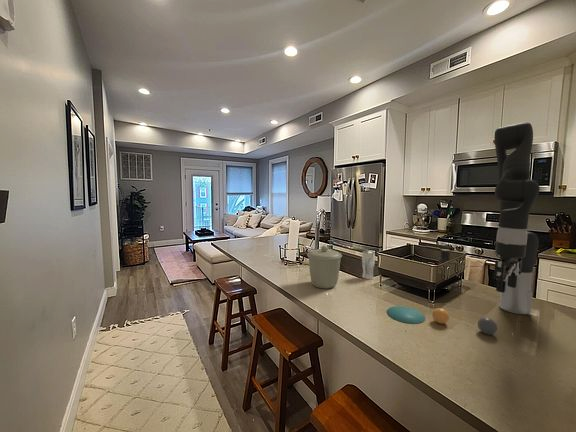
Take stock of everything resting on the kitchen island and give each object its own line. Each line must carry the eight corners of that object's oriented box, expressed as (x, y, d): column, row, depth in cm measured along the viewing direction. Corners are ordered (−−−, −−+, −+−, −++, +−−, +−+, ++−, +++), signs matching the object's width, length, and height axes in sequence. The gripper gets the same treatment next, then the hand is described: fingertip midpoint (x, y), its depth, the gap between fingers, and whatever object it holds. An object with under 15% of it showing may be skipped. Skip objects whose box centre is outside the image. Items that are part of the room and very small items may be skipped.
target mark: (426, 311, 105) (426, 311, 105) (423, 327, 93) (423, 327, 93) (390, 303, 112) (390, 303, 112) (383, 317, 100) (383, 317, 100)
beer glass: (374, 276, 148) (375, 251, 146) (374, 280, 141) (375, 253, 140) (361, 275, 150) (362, 250, 149) (361, 279, 144) (361, 252, 142)
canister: (346, 282, 138) (347, 244, 136) (333, 294, 123) (334, 251, 120) (316, 276, 147) (316, 241, 145) (300, 287, 132) (300, 247, 130)
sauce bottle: (453, 291, 126) (455, 251, 124) (439, 290, 127) (441, 251, 125) (447, 286, 132) (450, 248, 130) (434, 285, 134) (436, 248, 132)
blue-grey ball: (495, 331, 90) (496, 317, 90) (498, 339, 85) (499, 324, 85) (476, 327, 93) (477, 313, 92) (477, 334, 88) (478, 319, 88)
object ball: (448, 321, 97) (449, 307, 97) (448, 328, 93) (449, 313, 92) (432, 317, 100) (432, 304, 100) (431, 323, 96) (432, 309, 95)
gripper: (506, 237, 90) (501, 282, 92) (487, 241, 83) (482, 289, 85) (534, 241, 84) (529, 289, 85) (516, 245, 77) (511, 297, 78)
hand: (506, 289), depth 85 cm, fingers open, 8 cm apart
